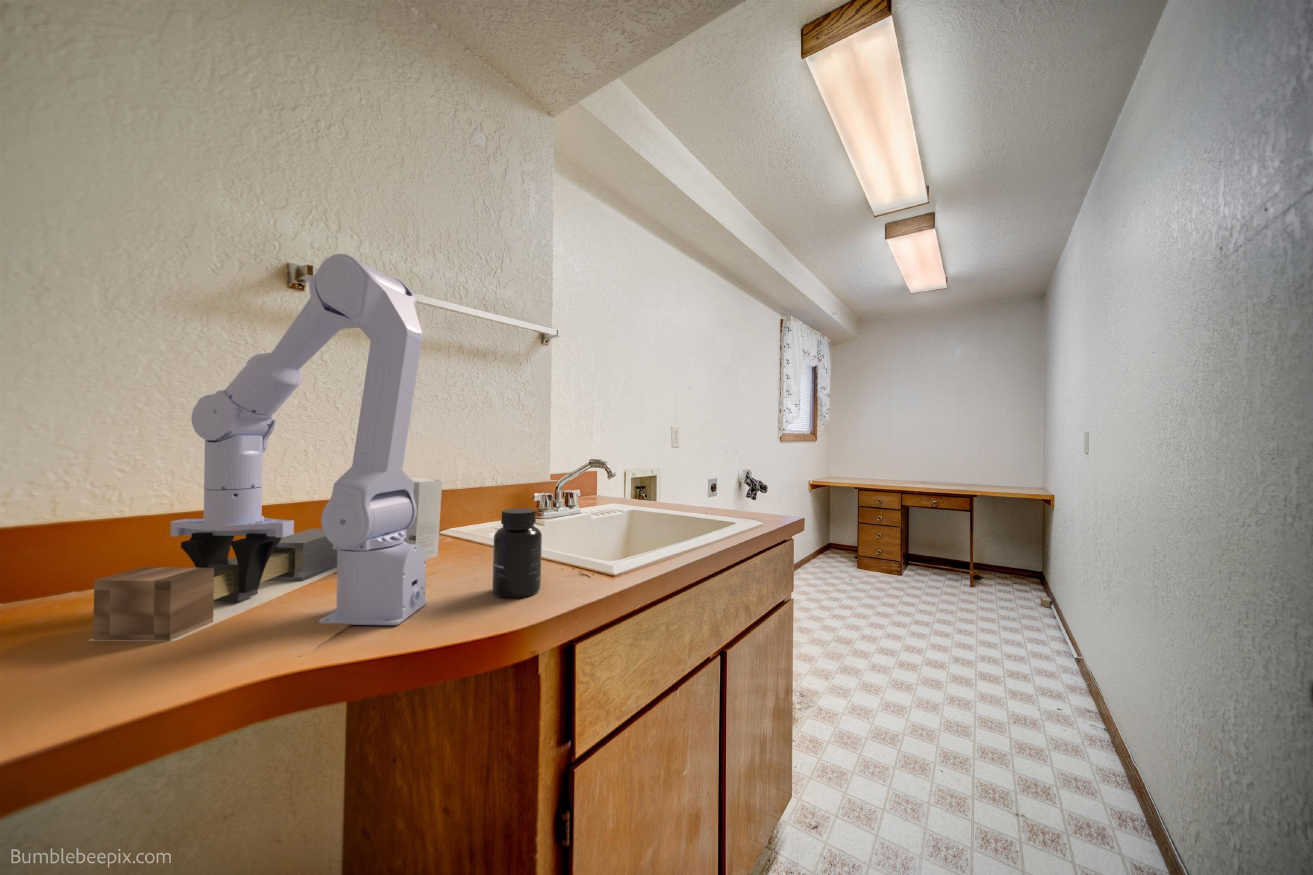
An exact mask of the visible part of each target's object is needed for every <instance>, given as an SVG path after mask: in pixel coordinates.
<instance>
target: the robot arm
mask: <svg viewBox="0 0 1313 875" xmlns="http://www.w3.org/2000/svg"><path fill="white" fill-rule="evenodd" d="M308 289H309V293H310V294H309V295H310V296H309V299H308V300H307V302H306V303H305V304H304V306H303V308H301V310H300V312H299V313H298V314H297V316H296V317H295V319H294V320H293V321H292V322H291V324H290V326H289V327H288V328H287V330H286V332H284V335H283V336H282V337H281V339H280V340H279V341H278V343H277V344H276V345H275V347H274V349H273V350H272V352H271V351H270V352H263V353H262V352H261V353H257V354H255V355H253V356H251V357H250V358H249V360H248V361H247V362H246V364H245V366H244V367H243V368H242V369H241V370H240V371H239V372H238V373H237V375H236V376H235V377H234V378H233V380H232V381H231V382H230V383H229V384H228V385H227V387H226V388H225V389H224V390H223V389H221V390H217V391H216V392H214V393H213V394H206V395H204V396H202V397H200V398H199V399H198V400H197V403H196V404H195V405H194V407H193V409H192V412H191V425H192V428H193V430H194V432H195V433H196V435H197V436H199V437H200V438H201V439H204V470H203V472H204V473H203V475H204V481H203V482H204V484H203V518H184V519H178V520H173V521H172V520H171V521H170V537H182V536H191V537H190V538H189V540H185V541H184V540H183V541H182V542H180V548H181V549H182V550H183V551H184V552H185V553H186V555H187V556H188V557H189V558H190V560H191V561H192V563H193V565H194V566H195V567H194V568H208V564H211V563H214V562H217V561H221V560H224V559H228V558H229V555H230V554H229V553H230V549H231V548H232V550H233V552H234V556H235V558H237V562H238V568H239V587H240V591H241V593H247V592H250V591H252V590H255V589H258V588H259V584H260V581H261V578H262V575H263V572H264V569H265V566H266V564H267V562H268V560H269V558H270V556H271V554H272V552H273V551H274V549H275V548H276V546H277V545H278V543H279V542H280V541H281V538H283V537H286V536H290V535H293V534H295V531H294V530H295V520H293V519H292V520H290V519H289V520H288V519H276V518H268V517H267V518H266V517H265V516H264V515H262V512H263V511H262V510H263V508H262V506H263V505H262V504H263V453H266V449H268V441H269V438H270V436H271V435H272V434H273V432H274V430H275V427H276V419H273V416H274V414H275V413H276V412H277V411H278V410H279V408H281V406H282V405H283V404H284V403H285V402H286V401H287V400H288V398H289V397H290V396H291V395H292V394H293V393H294V391H296V390H297V388H298V387H299V386H300V385H301V384H302V382H303V376H302V372H301V369H302V367H304V366H305V364H307V363H308V361H309V360H310V359H312V358H313V357H314V356H315V355H316V354H317V353H318V352H319V351H320V350H321V349H322V348H323V347H324V346H325V345H327V343H328V342H330V340H331V339H332V338H333V337H335V335H337V333H339V332H340V331H342V330H346V329H360V330H361V332H362V333H363V334H364V335H365V336H366V337H367V338H368V339H369V341H370V343H369V351H368V357H367V363H366V372H365V377H364V382H363V389H362V390H363V391H362V396H361V404H360V410H359V418H358V424H357V430H356V438H355V444H354V451H353V459H352V463H351V466H350V467H349V468H348V469H347V471H345V473H343V474H342V475H341V476H340V477H339V478H338V479H337V480H336V481H335V482H334V484H333V487H332V492H331V496H330V498H329V500H328V501H327V503H326V505H325V506H324V508H323V510H322V513H321V520H320V521H321V522H320V524H321V529H323V532H324V534H325V536H326V538H327V539H328V540H329V541H330V542H331V543H332V544H333V549H337V571H336V607H335V609H336V610H335V611H333V612H331V613H329V614H327V615H326V616H324V617H322V618H321V619H318V624H328V625H329V624H331V625H332V624H341V625H342V624H344V625H345V624H346V625H347V624H349V625H351V626H356V625H357V626H397V625H400V624H401V623H402V622H404V621H405V620H406V619H408V618H409V617H411V616H412V615H413V614H414V613H416V612H418V610H420V609H421V608H422V607H424V606H425V605H426V604H428V602H429V600H428V598H426V578H427V577H426V574H427V569H426V566H427V562H426V561H427V560H426V557H425V552H424V550H423V548H422V547H421V546H419V545H413V544H408V543H406V542H404V539H405V538H407V530H408V529H409V528H410V527H411V526H412V524H413V523H414V521H415V518H416V514H417V508H416V503H415V500H414V495H413V491H414V482H413V481H412V479H411V478H409V477H410V476H409V475H408V474H406V472H405V471H403V470H404V469H403V468H404V463H405V462H404V461H405V456H406V448H407V443H408V442H407V441H408V435H409V429H410V420H411V414H412V407H413V403H414V401H413V400H414V395H415V389H416V388H415V387H416V383H417V375H418V368H419V362H420V356H421V348H422V344H423V343H422V342H423V331H422V327H421V325H420V324H421V323H420V321H419V317H418V314H417V304H418V296H417V295H416V294H415V293H414V292H413V291H412V290H411V289H410V288H409V287H408V286H407V284H406V283H405V282H403V281H402V280H400V279H397V278H394V277H392V276H390V275H387V274H385V273H383V272H381V271H380V270H378V269H375V268H373V267H371V266H369V265H367V264H366V263H363V262H361V261H359V260H357V258H355V257H354V256H352V255H349V254H346V253H336V254H332V255H331V256H329V257H327V258H326V259H324V260H323V262H322V263H321V264H320V266H319V267H318V270H317V272H316V273H315V274H313V275H312V276H311V277H310V278H309V280H308ZM235 537H244V538H240V539H236V540H234V538H235Z"/></svg>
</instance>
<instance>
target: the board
mask: <svg viewBox="0 0 1313 875" xmlns="http://www.w3.org/2000/svg"><path fill="white" fill-rule="evenodd" d="M335 572H336V573H337V567H336V568H334V569H331V570H329V571H326V572H324V573H322V574H319V575H317V576H314V577H312V578H310V579H307V580H305V581H263V582H260V584H259V588H258V594H256V595H254V596H251V597H249V598H246V599H244V600H241V601H239V602H232V601H214V603H213V622H212V623H210V624H208V625H205V626H203V627H201V628H198V629H196V630H194V631H191V632H189V633H187V634H184V635H182V636H180V637H177V638H175V639H173V640H170V641H169V642H177V641H178V640H181V639H182V638H185V637H188V636H190V635H193V634H195V633H197V632H199V631H201V630H205V629H206V628H208V627H211V626H213V625H216V624H217V623H220V622H222V621H225V620H227V619H230V618H231V617H234V616H236V615H238V614H241V613H244V612H245V611H249V610H250V609H252V608H255V607H258V606H260V605H262V604H264V603H267V602H268V601H271V600H274V599H275V598H278V597H280V596H282V595H284V594H287V593H289V592H292V591H294V590H296V589H299V588H301V587H304V586H305V585H308V584H311V583H313V582H315V581H317V580H320V579H322V578H324V577H326V576H330V575H331V574H333V573H335ZM88 641H89V642H90V641H91V642H92V641H94V642H95V641H96V642H98V641H99V642H101V641H102V642H105V641H106V642H108V641H109V642H110V641H112V642H114V641H115V642H122V641H123V642H124V641H125V642H144V641H143V640H93V638H91V639H88Z"/></svg>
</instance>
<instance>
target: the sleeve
mask: <svg viewBox="0 0 1313 875" xmlns="http://www.w3.org/2000/svg"><path fill="white" fill-rule="evenodd" d="M284 548H295V570H292V571H289V572H287V573H284V574H281V575H279V576H276V577H273V578H271V579H268V580H265V581H305V580H307V579H310V578H312V577H314V576H317V575H319V574H322V573H324V572H326V571H329V570H331V569H334V568H336V567H337V549H333V544H332V543H331V542H330V541H329V540H328V539H327V538H326V536H325V534H324V532H323V529H322V528H309V529H306V530H302V531H299V532H294V534H293V535H290V536H286V537H283V538H281V541H280V542H279V543H278V545H277V546H276V548H275V549H274V551H278V550H281V549H284ZM274 551H273V552H274Z"/></svg>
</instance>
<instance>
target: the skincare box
mask: <svg viewBox="0 0 1313 875" xmlns="http://www.w3.org/2000/svg"><path fill="white" fill-rule="evenodd" d="M408 477H409V478H411V479H412V481H413V482H414V491H413V495H414V500H415V503H416V508H417V514H416V518H415V521H414V523H413V524H412V526H411V527H410V528H409V529H408V530H407V538H405V539H404V542H406V543H408V544H413V545H419V546H421V547H422V548H423V550H424V552H425V557H426V561H428V560H429V559H433V558H434V559H435V558H436V557H438V556H439V540H440V525H441V524H440V523H441V521H440V520H441V510H442V509H441V508H442V506H441V505H442V491H443V490H442V489H443V480H440V479H431V478H425V477H424V478H423V477H413V476H412V477H410V476H408Z"/></svg>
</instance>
